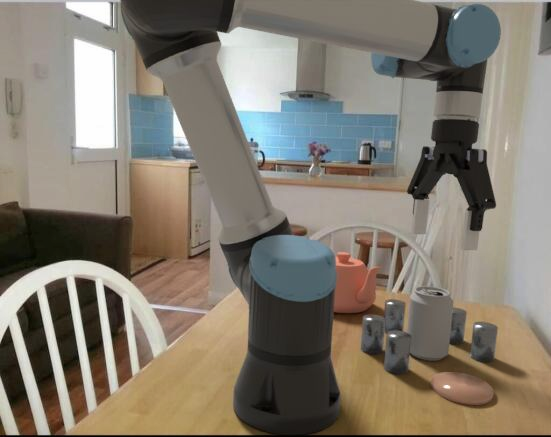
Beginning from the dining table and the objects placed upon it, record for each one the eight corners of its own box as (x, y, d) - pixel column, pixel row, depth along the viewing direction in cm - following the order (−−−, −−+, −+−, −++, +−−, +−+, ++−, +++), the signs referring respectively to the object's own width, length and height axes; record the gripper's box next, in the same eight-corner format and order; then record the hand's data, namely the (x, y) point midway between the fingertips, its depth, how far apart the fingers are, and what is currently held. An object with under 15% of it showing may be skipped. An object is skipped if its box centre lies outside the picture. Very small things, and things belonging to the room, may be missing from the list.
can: (450, 365, 86) (457, 298, 84) (406, 359, 88) (412, 293, 86) (445, 348, 94) (451, 286, 92) (404, 343, 95) (409, 282, 93)
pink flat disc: (457, 408, 72) (457, 403, 72) (419, 380, 80) (420, 375, 80) (506, 400, 75) (507, 395, 75) (465, 373, 83) (465, 369, 83)
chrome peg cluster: (392, 375, 81) (395, 340, 81) (339, 332, 99) (341, 303, 98) (499, 360, 89) (502, 328, 88) (432, 323, 106) (434, 295, 106)
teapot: (402, 316, 110) (407, 261, 108) (348, 328, 101) (352, 269, 100) (339, 289, 128) (342, 242, 126) (288, 297, 120) (291, 246, 118)
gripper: (532, 119, 75) (513, 257, 78) (428, 122, 98) (417, 228, 101) (493, 115, 72) (475, 258, 76) (395, 119, 95) (385, 228, 99)
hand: (441, 241), depth 88 cm, fingers open, 13 cm apart
